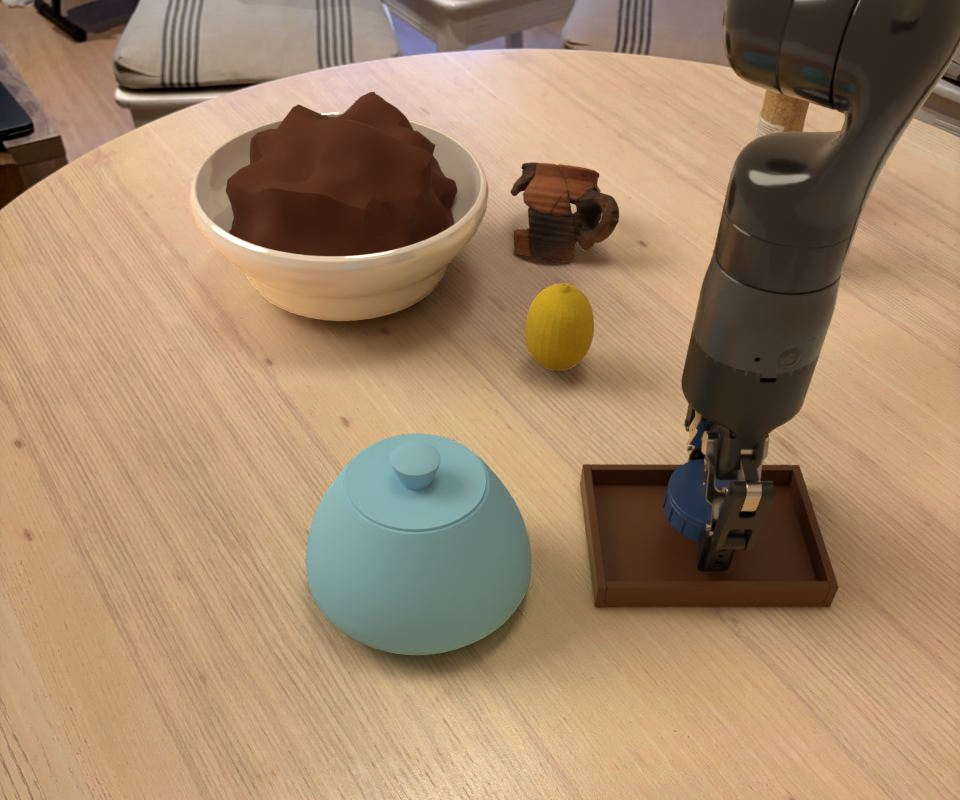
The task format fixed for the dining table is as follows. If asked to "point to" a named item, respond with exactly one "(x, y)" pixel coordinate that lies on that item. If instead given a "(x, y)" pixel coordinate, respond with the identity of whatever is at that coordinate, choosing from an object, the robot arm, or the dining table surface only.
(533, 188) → the pottery mug
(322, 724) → the dining table surface
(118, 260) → the dining table surface
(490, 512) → the sugar bowl
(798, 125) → the sprinkles bottle
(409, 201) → the bowl of chocolate mousse
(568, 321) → the lemon
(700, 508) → the lid
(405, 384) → the dining table surface
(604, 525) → the tray
